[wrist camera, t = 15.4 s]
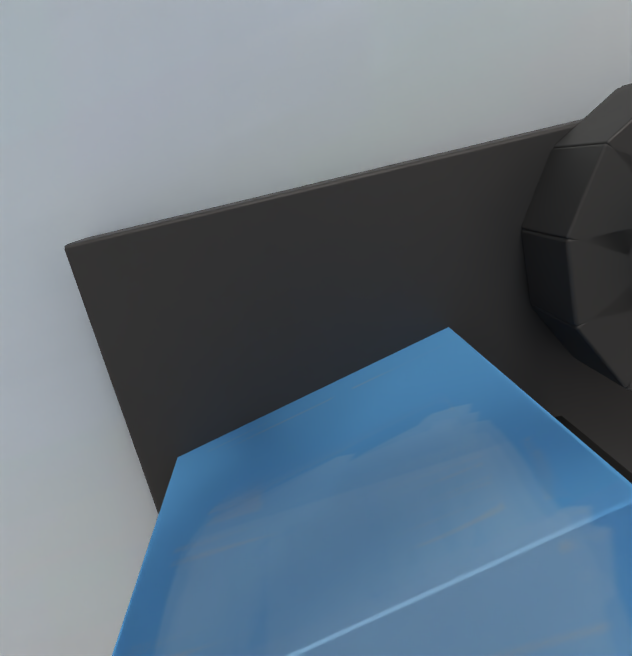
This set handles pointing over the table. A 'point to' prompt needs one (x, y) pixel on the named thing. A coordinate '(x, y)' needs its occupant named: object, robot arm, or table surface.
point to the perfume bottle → (391, 526)
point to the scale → (378, 287)
